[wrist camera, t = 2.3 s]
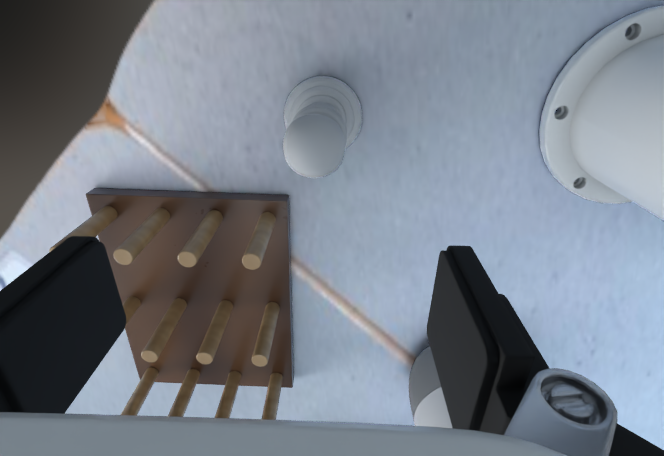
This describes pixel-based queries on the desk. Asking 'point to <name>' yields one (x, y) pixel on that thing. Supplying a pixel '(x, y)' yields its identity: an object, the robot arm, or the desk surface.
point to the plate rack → (200, 289)
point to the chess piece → (320, 125)
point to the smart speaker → (427, 393)
